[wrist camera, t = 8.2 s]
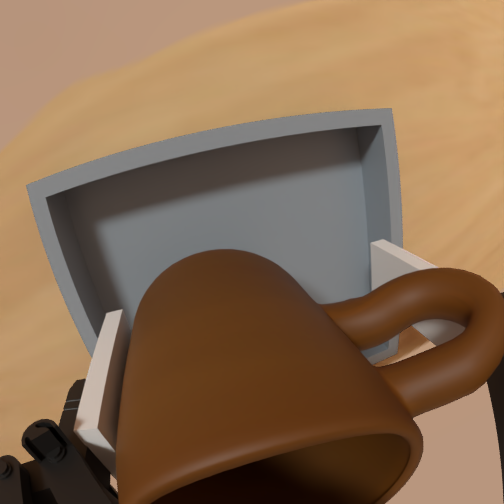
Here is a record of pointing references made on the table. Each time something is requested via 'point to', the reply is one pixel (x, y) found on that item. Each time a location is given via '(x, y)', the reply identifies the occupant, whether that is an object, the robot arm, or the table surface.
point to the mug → (288, 383)
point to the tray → (226, 210)
